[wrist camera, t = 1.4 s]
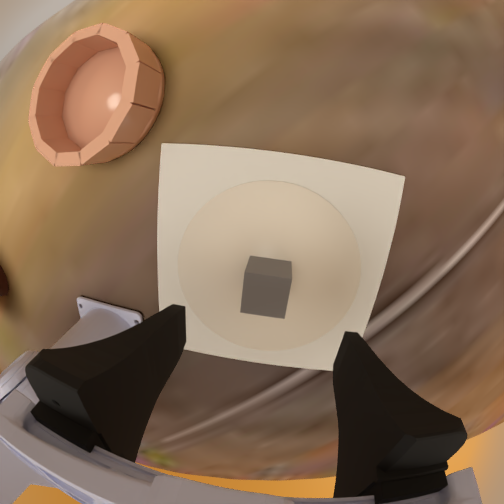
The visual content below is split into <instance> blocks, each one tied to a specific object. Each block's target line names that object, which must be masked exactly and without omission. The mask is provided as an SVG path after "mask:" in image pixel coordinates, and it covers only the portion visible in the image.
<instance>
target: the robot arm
mask: <svg viewBox="0 0 504 504" xmlns="http://www.w3.org/2000/svg"><path fill="white" fill-rule="evenodd" d="M77 304H78V309H79V313H80V318H81V319H80V320H79V321H78V322H77V323H76V324H75V325H74V326H73V327H72V328H71V329H69V330H68V331H67V332H66V333H65V334H64V335H63V336H62V337H61V338H60V339H59V340H58V341H57V342H56V343H55V344H54V345H53V346H52V347H51V348H50V349H42V350H41V351H40V352H39V353H38V351H32V350H27V351H26V352H24V353H23V354H22V355H21V356H19V357H18V358H17V359H16V360H15V361H14V362H12V363H11V364H10V365H9V366H8V367H7V368H6V369H5V370H4V371H3V372H2V373H1V374H0V504H12V503H13V502H14V501H15V500H16V499H17V498H18V497H19V496H20V495H21V494H22V492H24V490H25V489H26V488H27V487H28V486H29V485H30V484H35V485H41V486H47V487H54V488H58V489H60V490H61V491H63V492H64V493H66V494H67V495H69V496H71V497H72V498H74V499H75V500H77V501H78V502H80V503H82V504H482V501H481V497H480V493H479V489H478V485H477V482H476V478H475V475H474V472H473V468H471V467H470V468H467V469H463V470H461V471H457V472H454V473H451V474H449V475H448V476H446V475H445V470H447V469H448V464H447V460H448V459H449V458H450V457H452V456H453V455H454V454H455V453H456V452H457V451H458V450H459V449H460V448H461V447H462V446H463V444H464V443H465V441H466V439H467V433H466V430H465V428H464V425H463V423H462V420H461V418H458V417H456V416H454V415H452V414H449V413H447V412H445V411H443V410H441V409H439V408H437V407H436V406H434V405H432V404H430V403H429V402H427V401H426V400H424V399H423V398H421V397H420V396H419V395H417V394H416V393H414V392H413V391H412V390H411V389H409V388H408V387H407V386H406V385H405V384H404V383H402V382H401V381H400V380H399V379H398V378H397V377H396V376H395V375H394V374H393V373H392V372H391V371H390V370H389V369H388V368H387V367H386V366H385V365H384V364H383V362H382V361H381V360H380V359H379V358H378V357H377V355H376V354H375V353H374V352H373V351H372V349H371V348H370V347H369V346H368V344H367V343H366V342H365V341H364V339H363V338H362V337H361V336H360V335H359V333H358V332H349V331H345V332H344V335H343V338H342V341H341V344H340V347H339V350H338V352H337V355H336V358H335V361H334V363H333V386H334V394H335V401H336V409H337V417H338V427H339V445H338V463H337V474H336V483H335V489H334V496H333V498H292V497H280V496H274V495H269V494H261V493H254V492H246V491H240V490H234V489H229V488H223V487H219V486H213V485H209V484H205V483H201V482H197V481H193V480H189V479H185V478H180V477H176V476H172V475H167V474H164V473H161V472H158V471H155V470H152V469H150V468H147V467H144V466H141V465H139V464H136V463H135V460H136V457H137V453H138V450H139V446H140V443H141V440H142V437H143V434H144V431H145V428H146V426H147V423H148V420H149V418H150V415H151V413H152V410H153V408H154V405H155V403H156V400H157V398H158V396H159V394H160V392H161V391H162V389H163V387H164V385H165V384H166V382H167V380H168V378H169V377H170V375H171V373H172V371H173V370H174V368H175V366H176V364H177V362H178V361H179V359H180V356H181V354H182V352H183V349H184V346H185V344H186V309H185V306H181V305H176V304H172V305H170V306H168V307H166V308H165V309H163V310H161V311H160V312H158V313H156V314H155V315H153V316H151V317H149V318H148V319H146V320H144V321H142V315H141V314H140V313H139V312H137V311H133V310H129V309H125V308H121V307H117V306H113V305H110V304H106V303H102V302H99V301H95V300H92V299H88V298H85V297H81V296H80V297H78V298H77ZM136 320H137V321H138V322H137V321H136Z"/></svg>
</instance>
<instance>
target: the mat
mask: <svg viewBox="0 0 504 504" xmlns="http://www.w3.org/2000/svg"><path fill="white" fill-rule="evenodd" d="M265 180H271V181H283V182H288V183H292V184H296V185H299V186H302V187H304V188H307V189H309V190H311V191H313V192H315V193H317V194H318V195H320V196H321V197H323V198H324V199H325V200H327V201H328V202H329V203H330V204H331V205H333V206H334V207H335V208H336V209H337V210H338V211H339V212H340V214H341V215H342V216H343V218H344V219H345V220H346V221H347V223H348V225H349V226H350V228H351V230H352V232H353V234H354V236H355V239H356V241H357V244H358V248H359V252H360V259H361V277H360V283H359V288H358V291H357V294H356V297H355V299H354V301H353V303H352V305H351V307H350V309H349V310H348V312H347V313H346V315H345V316H344V317H343V319H342V320H341V321H340V322H339V323H338V324H337V325H336V326H335V327H334V328H333V329H331V330H330V331H329V332H328V333H326V334H325V335H323V336H322V337H320V338H319V339H317V340H315V341H313V342H311V343H309V344H306V345H303V346H300V347H297V348H293V349H288V350H280V351H264V350H255V349H250V348H246V347H243V346H239V345H236V344H234V343H232V342H229V341H227V340H225V339H224V338H222V337H220V336H218V335H217V334H216V333H214V332H213V331H211V330H210V329H209V328H208V327H207V326H206V325H205V324H203V323H202V322H201V321H200V319H199V318H198V317H197V316H196V315H195V313H194V312H193V310H192V309H191V307H190V306H189V304H188V302H187V300H186V298H185V296H184V294H183V291H182V288H181V285H180V280H179V275H178V253H179V248H180V244H181V240H182V238H183V235H184V232H185V230H186V228H187V226H188V225H189V223H190V221H191V220H192V218H193V217H194V216H195V214H196V213H197V212H198V211H199V210H200V209H201V208H202V207H203V206H204V205H205V204H206V203H207V202H208V201H210V200H211V199H213V198H214V197H215V196H217V195H218V194H220V193H222V192H224V191H226V190H228V189H229V188H232V187H235V186H238V185H240V184H244V183H249V182H253V181H265ZM404 180H405V176H401V175H397V174H393V173H389V172H385V171H380V170H376V169H372V168H367V167H363V166H358V165H353V164H348V163H343V162H338V161H332V160H327V159H321V158H315V157H309V156H303V155H296V154H289V153H282V152H274V151H266V150H257V149H248V148H237V147H226V146H212V145H195V144H169V143H162V146H161V159H160V173H159V192H158V227H157V259H158V293H159V312H160V311H161V310H163V309H165V308H166V307H168V306H170V305H172V304H176V305H181V306H185V309H186V344H185V346H184V349H186V350H190V351H195V352H200V353H205V354H210V355H215V356H220V357H226V358H232V359H238V360H244V361H250V362H257V363H264V364H271V365H279V366H287V367H297V368H306V369H318V370H331V371H333V363H334V361H335V358H336V355H337V352H338V350H339V347H340V344H341V341H342V338H343V335H344V332H345V331H349V332H358V333H359V335H360V336H361V337H363V334H364V331H365V329H366V326H367V323H368V320H369V317H370V314H371V312H372V309H373V306H374V303H375V299H376V296H377V293H378V290H379V287H380V283H381V280H382V277H383V273H384V270H385V266H386V262H387V259H388V255H389V251H390V247H391V243H392V239H393V235H394V231H395V226H396V222H397V217H398V212H399V207H400V202H401V197H402V192H403V186H404Z"/></svg>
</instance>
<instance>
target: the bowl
mask: <svg viewBox="0 0 504 504" xmlns="http://www.w3.org/2000/svg"><path fill="white" fill-rule="evenodd" d="M33 87H34V88H33V90H32V96H31V103H30V110H29V118H28V120H29V121H28V122H29V126H30V130H31V134H32V137H33V141H34V145H35V148H37V149H36V150H37V151H38V152H39V153H40V154H41V155H43V156H44V157H45V158H46V159H47V160H48V161H49V162H50V163H51V164H52V165H53V166H81V165H88V164H96V163H105V162H109V161H111V160H114V159H116V158H119V157H121V156H123V155H125V154H126V153H128V152H129V151H131V150H132V149H133V148H135V147H136V146H137V145H138V144H139V143H140V142H141V141H142V140H143V139H144V137H145V136H146V135H147V134H148V132H149V131H150V129H151V128H152V126H153V124H154V123H155V121H156V119H157V116H158V114H159V112H160V109H161V106H162V102H163V97H164V90H165V78H164V72H163V68H162V65H161V63H160V61H159V59H158V57H157V56H156V55H155V53H154V52H153V51H152V50H151V48H150V47H149V46H148V45H147V44H145V43H144V42H142V41H141V40H139V39H138V38H136V37H135V36H133V35H132V34H130V33H129V32H127V31H124V30H122V29H119V28H117V27H114V26H111V25H109V24H106V23H100V24H97V25H93V26H90V27H87V28H84V29H81V30H79V31H76V32H75V33H73V34H71V35H70V36H69V37H68V38H67V39H66V40H65V41H64V42H63V43H62V44H61V45H59V46H58V47H57V48H56V49H55V50H54V51H53V52H52V53H51V54H50V57H48V59H47V60H46V62H45V64H44V66H43V68H42V70H41V72H40V74H39V76H38V78H37V80H36V82H35V84H34V86H33Z"/></svg>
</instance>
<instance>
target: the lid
mask: <svg viewBox="0 0 504 504" xmlns="http://www.w3.org/2000/svg"><path fill="white" fill-rule="evenodd" d="M178 275H179V280H180V285H181V288H182V291H183V294H184V296H185V298H186V300H187V302H188V304H189V306H190V307H191V309H192V310H193V312H194V313H195V315H196V316H197V317H198V318H199V319H200V321H201V322H202V323H203V324H205V325H206V326H207V327H208V328H209V329H210V330H211V331H213V332H214V333H216V334H217V335H218V336H220V337H222V338H224V339H225V340H227V341H229V342H232V343H234V344H236V345H239V346H243V347H246V348H250V349H255V350H264V351H280V350H288V349H293V348H297V347H300V346H303V345H306V344H309V343H311V342H313V341H315V340H317V339H319V338H320V337H322V336H323V335H325V334H326V333H328V332H329V331H330V330H331V329H333V328H334V327H335V326H336V325H337V324H338V323H339V322H340V321H341V320H342V319H343V317H344V316H345V315H346V313H347V312H348V310H349V309H350V307H351V305H352V303H353V301H354V299H355V297H356V294H357V291H358V288H359V283H360V277H361V259H360V252H359V248H358V244H357V241H356V239H355V236H354V234H353V232H352V230H351V228H350V226H349V225H348V223H347V221H346V220H345V219H344V218H343V216H342V215H341V214H340V212H339V211H338V210H337V209H336V208H335V207H334V206H333V205H331V204H330V203H329V202H328V201H327V200H325V199H324V198H323V197H321V196H320V195H318V194H317V193H315V192H313V191H311V190H309V189H307V188H304V187H302V186H299V185H296V184H292V183H288V182H283V181H271V180H265V181H253V182H249V183H244V184H240V185H238V186H235V187H232V188H229V189H228V190H226V191H224V192H222V193H220V194H218V195H217V196H215V197H214V198H213V199H211V200H210V201H208V202H207V203H206V204H205V205H204V206H203V207H202V208H201V209H200V210H199V211H198V212H197V213H196V214H195V216H194V217H193V218H192V220H191V221H190V223H189V225H188V226H187V228H186V230H185V232H184V235H183V238H182V240H181V244H180V248H179V253H178Z"/></svg>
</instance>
